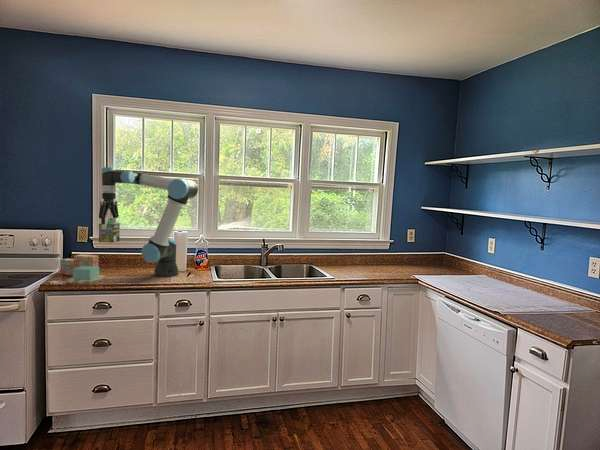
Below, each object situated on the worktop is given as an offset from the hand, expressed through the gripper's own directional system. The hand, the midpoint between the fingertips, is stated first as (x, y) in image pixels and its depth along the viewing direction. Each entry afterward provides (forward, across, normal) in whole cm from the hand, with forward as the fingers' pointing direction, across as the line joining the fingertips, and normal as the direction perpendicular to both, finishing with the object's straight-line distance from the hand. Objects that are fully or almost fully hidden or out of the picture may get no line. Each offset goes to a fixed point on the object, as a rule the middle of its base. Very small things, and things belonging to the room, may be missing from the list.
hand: (109, 228), depth 248 cm
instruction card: (+29, +26, -15) cm, 42 cm away
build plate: (+29, +16, -4) cm, 34 cm away
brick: (+28, +16, -4) cm, 32 cm away
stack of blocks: (+30, +2, -19) cm, 35 cm away
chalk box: (+8, 0, 0) cm, 8 cm away
